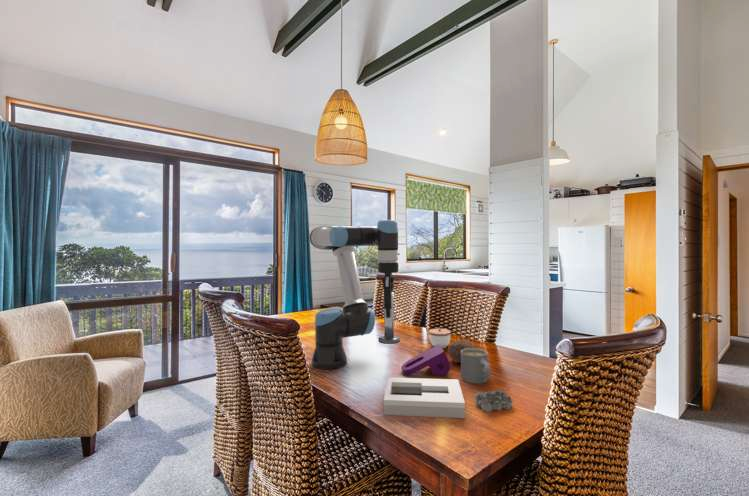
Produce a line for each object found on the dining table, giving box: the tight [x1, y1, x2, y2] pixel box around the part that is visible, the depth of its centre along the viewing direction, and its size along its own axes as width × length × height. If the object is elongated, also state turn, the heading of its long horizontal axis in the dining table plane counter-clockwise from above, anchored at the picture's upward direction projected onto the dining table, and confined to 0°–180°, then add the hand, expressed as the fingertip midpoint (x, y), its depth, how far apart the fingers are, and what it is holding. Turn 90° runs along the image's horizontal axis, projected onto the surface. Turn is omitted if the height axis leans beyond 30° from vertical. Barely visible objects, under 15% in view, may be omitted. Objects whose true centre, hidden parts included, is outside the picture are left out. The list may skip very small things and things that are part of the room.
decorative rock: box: [447, 339, 476, 364], centre depth 153 cm, size 13×11×10 cm
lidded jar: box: [428, 327, 452, 349], centre depth 176 cm, size 11×11×9 cm
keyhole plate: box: [383, 377, 466, 419], centre depth 115 cm, size 24×18×4 cm
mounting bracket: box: [401, 345, 451, 377], centre depth 142 cm, size 9×8×18 cm
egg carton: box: [473, 388, 515, 413], centre depth 112 cm, size 11×8×4 cm
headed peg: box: [377, 291, 401, 345], centre depth 132 cm, size 8×8×18 cm
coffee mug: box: [460, 347, 491, 384], centre depth 133 cm, size 13×10×10 cm
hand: (388, 324), depth 132 cm, fingers closed on headed peg, 3 cm apart
